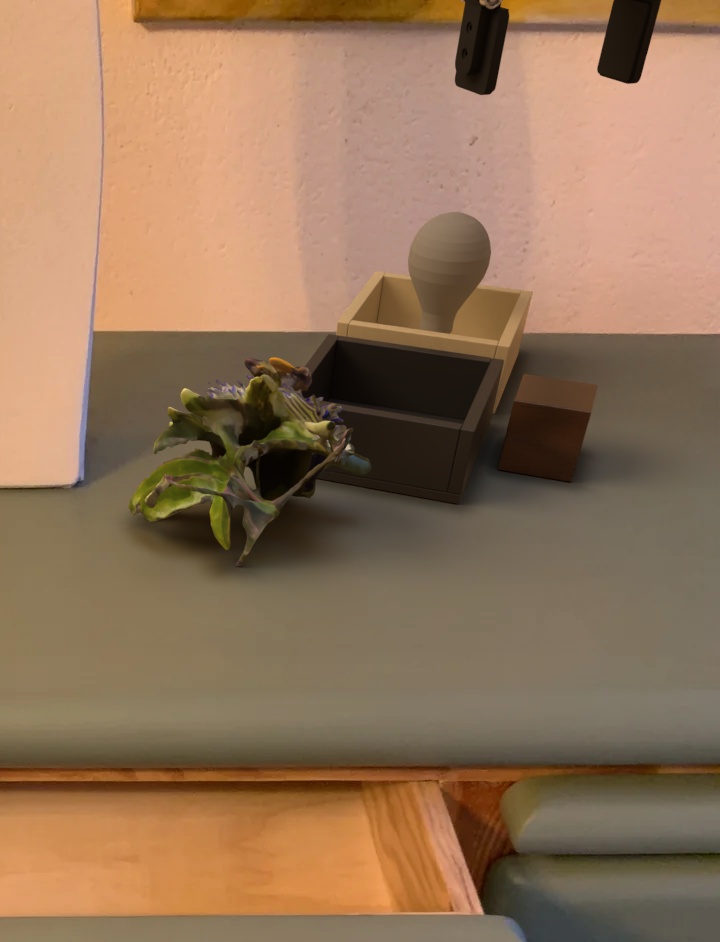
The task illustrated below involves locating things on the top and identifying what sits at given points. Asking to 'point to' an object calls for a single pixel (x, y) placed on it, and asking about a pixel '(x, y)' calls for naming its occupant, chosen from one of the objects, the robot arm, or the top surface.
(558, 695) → the top surface
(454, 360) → the charcoal bin
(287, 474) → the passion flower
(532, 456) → the walnut block
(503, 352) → the cream bin
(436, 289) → the light bulb
